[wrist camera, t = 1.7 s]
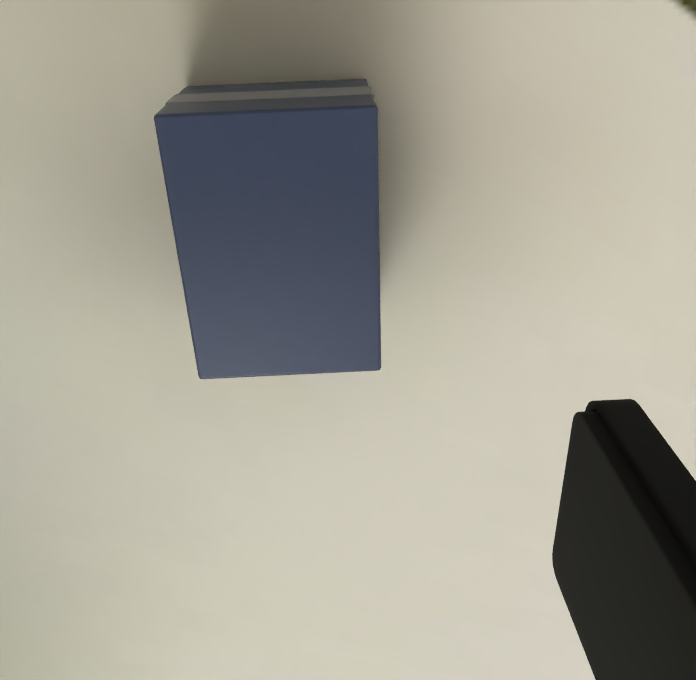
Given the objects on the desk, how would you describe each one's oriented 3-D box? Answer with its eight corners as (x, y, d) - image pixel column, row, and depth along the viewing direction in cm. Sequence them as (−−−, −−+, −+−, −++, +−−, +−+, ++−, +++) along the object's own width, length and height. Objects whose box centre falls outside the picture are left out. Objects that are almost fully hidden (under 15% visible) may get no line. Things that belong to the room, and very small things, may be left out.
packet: (183, 85, 18) (151, 114, 15) (367, 77, 18) (378, 104, 15) (217, 314, 22) (198, 381, 18) (372, 306, 22) (382, 372, 18)
